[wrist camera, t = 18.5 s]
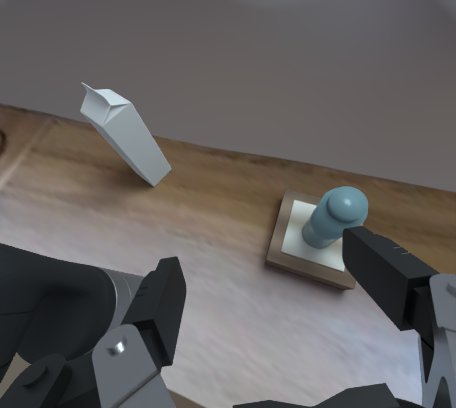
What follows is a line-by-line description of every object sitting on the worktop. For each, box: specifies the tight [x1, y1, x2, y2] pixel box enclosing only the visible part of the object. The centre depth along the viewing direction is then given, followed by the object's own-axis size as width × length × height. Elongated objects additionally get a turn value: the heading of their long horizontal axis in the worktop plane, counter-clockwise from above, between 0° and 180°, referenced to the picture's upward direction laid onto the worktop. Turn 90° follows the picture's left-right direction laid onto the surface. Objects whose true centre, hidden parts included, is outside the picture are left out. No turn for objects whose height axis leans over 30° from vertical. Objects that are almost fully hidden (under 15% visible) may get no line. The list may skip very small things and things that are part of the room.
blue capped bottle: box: [302, 186, 368, 249], centre depth 30 cm, size 5×5×14 cm
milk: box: [81, 82, 172, 187], centre depth 41 cm, size 6×6×22 cm
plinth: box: [265, 189, 363, 290], centre depth 39 cm, size 14×14×4 cm
